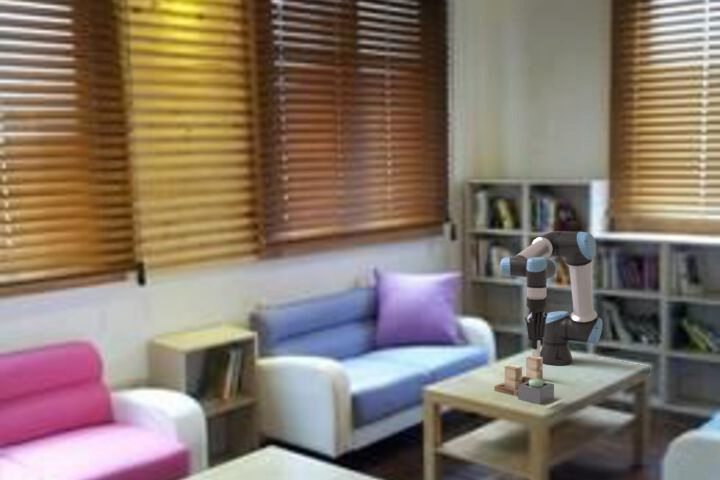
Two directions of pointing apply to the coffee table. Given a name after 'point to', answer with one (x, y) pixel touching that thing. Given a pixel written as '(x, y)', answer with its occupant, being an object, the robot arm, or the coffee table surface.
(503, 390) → the wooden divided tray
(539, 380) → the button
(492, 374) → the coffee table surface
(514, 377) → the seated billet
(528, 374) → the billet
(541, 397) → the grey square bin
